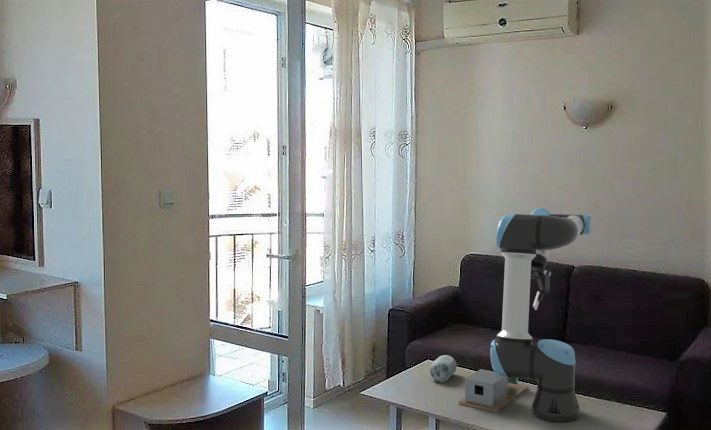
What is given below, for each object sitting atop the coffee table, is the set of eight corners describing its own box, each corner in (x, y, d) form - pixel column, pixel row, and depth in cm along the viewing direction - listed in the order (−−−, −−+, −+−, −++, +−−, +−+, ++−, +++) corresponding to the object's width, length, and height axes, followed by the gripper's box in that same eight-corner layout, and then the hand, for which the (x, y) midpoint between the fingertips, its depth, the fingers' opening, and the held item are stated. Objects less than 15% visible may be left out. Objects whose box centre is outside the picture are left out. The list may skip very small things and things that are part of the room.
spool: (451, 378, 254) (442, 351, 257) (429, 386, 258) (420, 360, 261) (466, 376, 265) (457, 351, 269) (444, 384, 269) (436, 359, 273)
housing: (491, 381, 259) (491, 357, 258) (528, 388, 251) (528, 364, 250) (458, 404, 237) (458, 378, 236) (497, 412, 229) (497, 386, 228)
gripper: (567, 266, 269) (553, 315, 258) (513, 261, 282) (497, 308, 271) (563, 254, 264) (548, 304, 253) (508, 250, 277) (491, 297, 266)
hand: (521, 306), depth 262 cm, fingers open, 9 cm apart
